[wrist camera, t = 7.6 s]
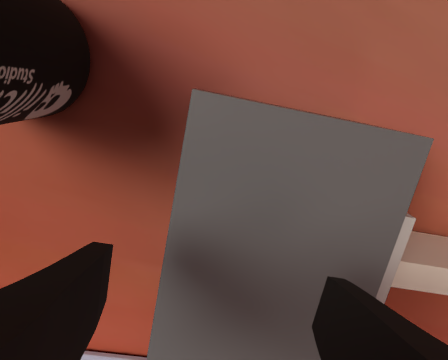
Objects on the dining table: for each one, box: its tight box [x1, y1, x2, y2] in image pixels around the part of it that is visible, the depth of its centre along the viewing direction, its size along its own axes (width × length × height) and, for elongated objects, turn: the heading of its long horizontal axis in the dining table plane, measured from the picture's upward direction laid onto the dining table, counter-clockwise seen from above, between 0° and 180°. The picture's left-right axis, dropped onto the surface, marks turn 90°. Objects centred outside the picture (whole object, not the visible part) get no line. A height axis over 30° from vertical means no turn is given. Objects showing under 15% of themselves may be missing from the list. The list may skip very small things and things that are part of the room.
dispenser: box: [147, 89, 434, 360], centre depth 18 cm, size 14×11×7 cm
